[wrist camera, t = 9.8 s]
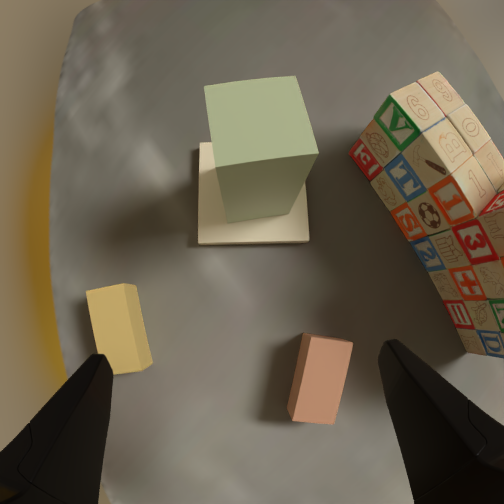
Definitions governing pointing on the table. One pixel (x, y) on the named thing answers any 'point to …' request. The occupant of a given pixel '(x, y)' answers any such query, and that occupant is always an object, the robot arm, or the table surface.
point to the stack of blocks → (444, 200)
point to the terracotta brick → (319, 378)
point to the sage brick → (260, 145)
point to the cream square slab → (249, 231)
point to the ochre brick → (119, 327)
